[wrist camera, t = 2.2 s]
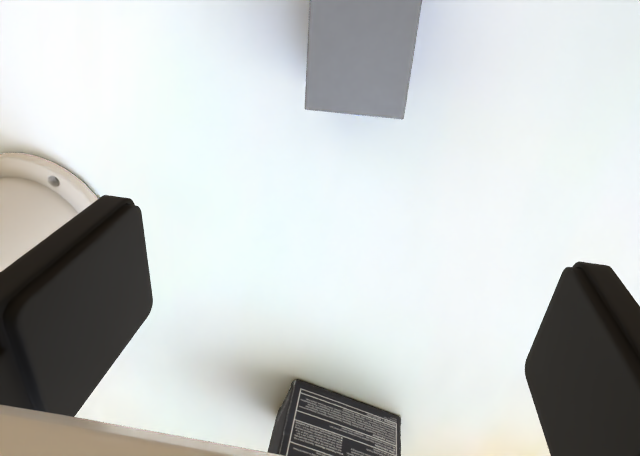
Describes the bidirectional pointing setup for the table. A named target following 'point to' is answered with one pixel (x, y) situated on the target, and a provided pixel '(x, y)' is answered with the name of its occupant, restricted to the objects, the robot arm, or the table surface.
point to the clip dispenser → (360, 56)
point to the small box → (332, 426)
